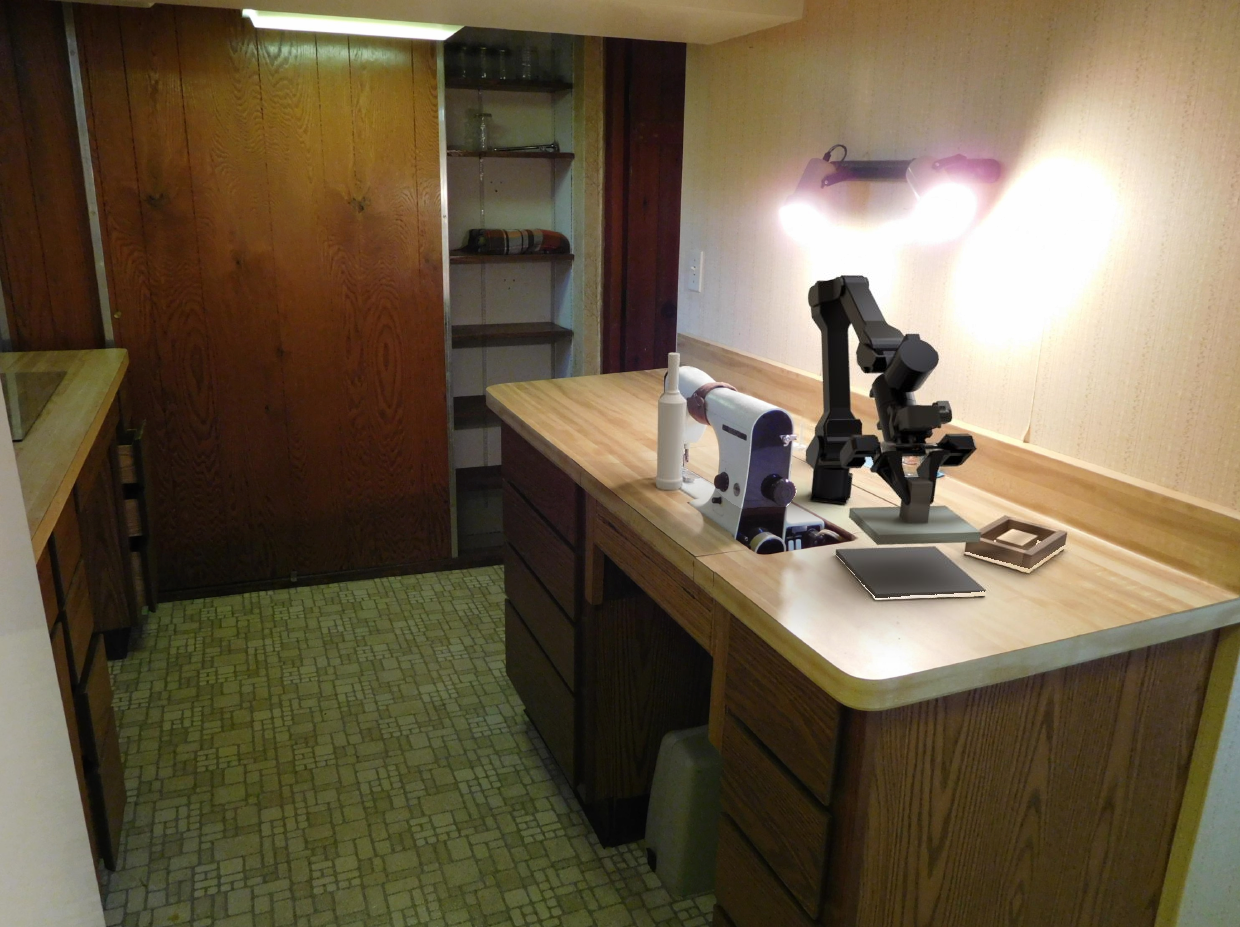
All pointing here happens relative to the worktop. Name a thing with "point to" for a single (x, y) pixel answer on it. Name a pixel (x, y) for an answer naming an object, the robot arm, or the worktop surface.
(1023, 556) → the brown wooden flat frame
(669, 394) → the bottle
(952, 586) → the rubber mat
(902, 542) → the lid
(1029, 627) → the worktop surface
